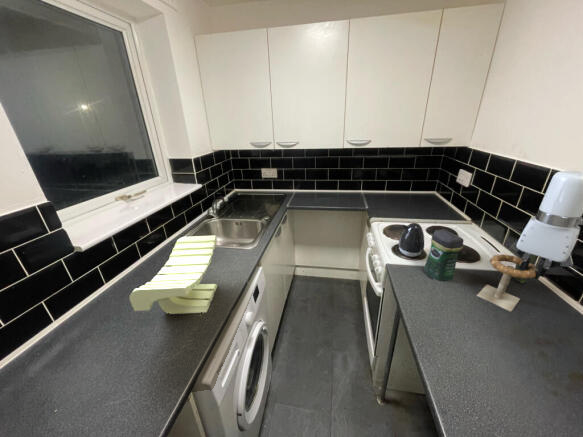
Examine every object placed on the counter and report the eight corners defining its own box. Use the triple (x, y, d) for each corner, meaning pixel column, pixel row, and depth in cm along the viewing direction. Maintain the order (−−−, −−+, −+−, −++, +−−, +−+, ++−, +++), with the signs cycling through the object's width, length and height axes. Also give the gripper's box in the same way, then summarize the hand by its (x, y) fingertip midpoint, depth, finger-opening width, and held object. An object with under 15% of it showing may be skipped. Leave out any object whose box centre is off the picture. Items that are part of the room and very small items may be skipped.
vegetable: (511, 283, 84) (532, 235, 76) (506, 275, 88) (526, 229, 79) (527, 285, 82) (550, 237, 74) (521, 278, 86) (543, 231, 78)
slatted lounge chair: (185, 274, 97) (175, 237, 90) (223, 272, 97) (215, 235, 90) (145, 336, 70) (125, 290, 62) (197, 334, 70) (184, 287, 62)
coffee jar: (456, 281, 86) (470, 238, 78) (437, 284, 85) (450, 241, 77) (437, 266, 95) (448, 226, 87) (420, 269, 93) (429, 228, 86)
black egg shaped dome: (394, 247, 109) (398, 218, 103) (417, 248, 108) (423, 218, 102) (400, 259, 100) (405, 228, 94) (425, 260, 99) (433, 229, 92)
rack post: (518, 301, 76) (534, 268, 71) (509, 314, 71) (526, 280, 66) (485, 286, 83) (497, 256, 77) (475, 297, 78) (487, 266, 73)
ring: (540, 270, 70) (543, 264, 69) (530, 284, 65) (533, 278, 64) (496, 255, 78) (498, 249, 78) (484, 267, 73) (486, 261, 72)
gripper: (607, 224, 57) (573, 283, 64) (520, 206, 69) (500, 258, 76) (603, 233, 53) (567, 295, 60) (512, 213, 65) (492, 266, 73)
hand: (530, 274), depth 68 cm, fingers closed on ring, 2 cm apart
